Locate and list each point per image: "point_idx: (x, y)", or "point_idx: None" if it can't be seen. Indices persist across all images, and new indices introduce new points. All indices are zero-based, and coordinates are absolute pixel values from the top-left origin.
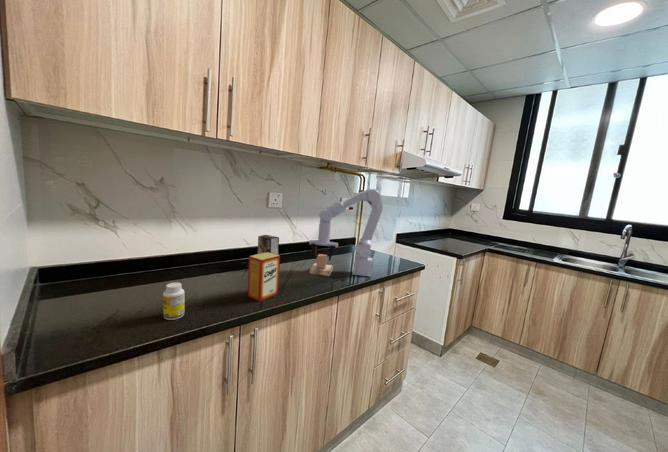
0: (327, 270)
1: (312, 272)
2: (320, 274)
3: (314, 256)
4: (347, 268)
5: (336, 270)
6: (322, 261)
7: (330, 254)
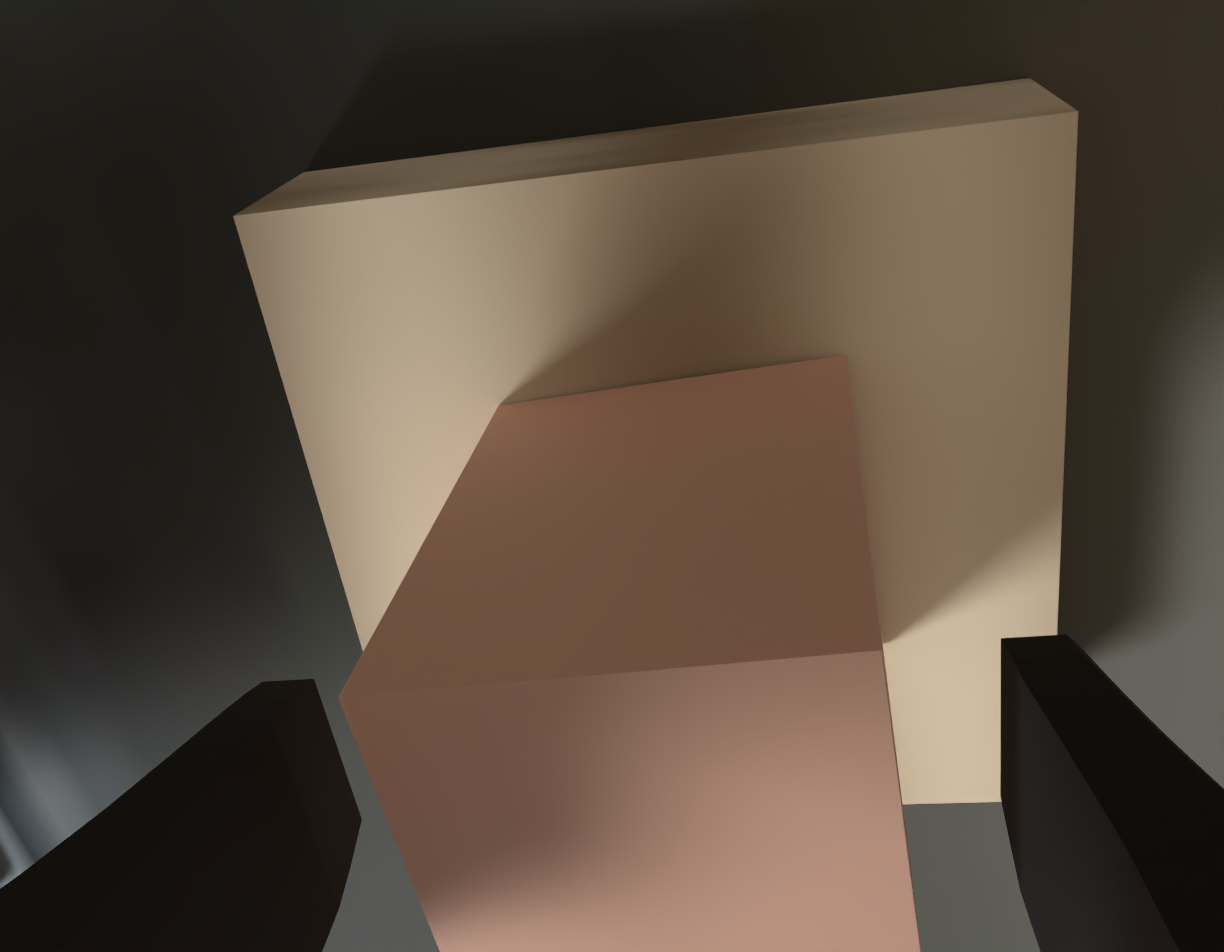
0: (337, 254)
1: (925, 102)
2: (608, 136)
3: (1092, 696)
4: None
5: (336, 719)
6: (576, 530)
7: (56, 894)
